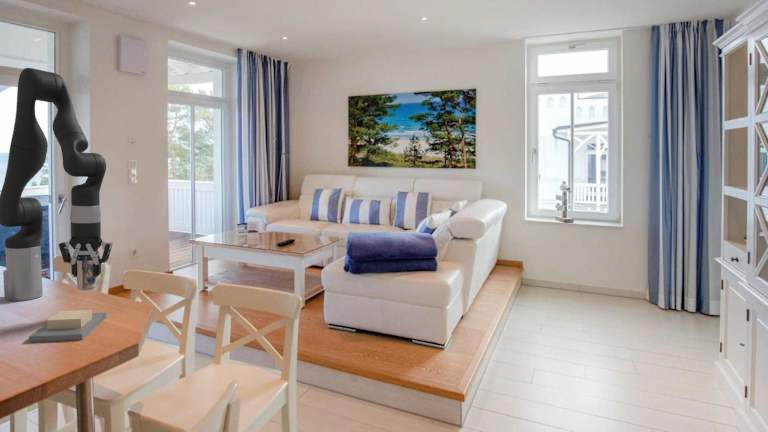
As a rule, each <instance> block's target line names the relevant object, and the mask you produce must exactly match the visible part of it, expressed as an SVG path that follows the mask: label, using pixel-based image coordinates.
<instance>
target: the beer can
mask: <svg viewBox="0 0 768 432" xmlns="http://www.w3.org/2000/svg"><path fill="white" fill-rule="evenodd" d="M95 254H96V252H95ZM94 265H95V264H94V261H93V259H92V258H91V256H90V253H89V251H79V253H78V256H77V277H76V281H77V283H76V287H77V289H78V290H80V291H90V290H93V289H95V288H96V287H97V277H94Z"/></svg>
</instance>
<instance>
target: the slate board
mask: <svg viewBox="0 0 768 432" xmlns="http://www.w3.org/2000/svg"><path fill="white" fill-rule="evenodd" d="M105 319H107V312H93V309H77V310H76V309H75V310H74V309H73V310H59V311H58V312H56V313H55V314H54V315H52V316H50V317H49V318H48V319H46V324H44V325H43V326H41V327H40V328H39V329H37V330H35V332H33V333H32V334H30V335H29V336H28V342H29V343H37V342H38V343H40V342H41V343H42V342H43V343H44V342H60V341H61V342H62V341H78V340H79V341H83V340H84V339H85V338H86V337H87V336H88V335H89V334H90V333H91V332H93V331H94V330H95V329H96V328H97V327H98V326H99V325H100V324H101V323H102V322H103V321H104V320H105Z"/></svg>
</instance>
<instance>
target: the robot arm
mask: <svg viewBox="0 0 768 432" xmlns="http://www.w3.org/2000/svg"><path fill="white" fill-rule="evenodd" d="M17 81H18V82H17V90H16V91H17V93H16V108H15V109H16V111H15V117H14V118H15V119H14V124H13V125H14V126H13V131H12V136H11V141H10V145H9V153H8V159H7V168H6V173H5V177H4V182H3V185H2V188H1V191H0V226H2V227H3V228H4V227H5V228H16V227H20V229H19V230H18V231H17V232H15V234H13V235H10V236H8V237H7V238H5V241H4V248H5V265H6V266H5V270H3V271H2V274H3V275H2V276H3V291H4V292H3V295H4V300H5V299H7V300H6V301H13V302H14V301H15V302H16V301H17V302H18V301H29V300H34V299H37V298H40V297H42V296H43V290H44V289H43V274H42V273H43V272H42V271H43V269H42V250H41V249H42V248H41V241H42V239H43V219H44V215H43V213H44V212H43V207H42V204H41V203H40V200H38V199H37V198H35V197H22V194H23V192H24V191H25V190H24V189H25V187H26V186H27V184H28V183H29V182H30V181H31V180H32V179H33V178H34V177H36V175H37V174H38V173H39V171H41V169H42V168H43V167H44V164H45V162H46V158H47V153H48V149H49V148H48V147H49V144H48V140H47V137H46V135H45V133H44V131H43V129H42V127H41V125H40V123H39V122H38V119H37V117H36V102H37V101H38V102H39V101H40V102H47V103H52V104H53V105H54V106H55V107H56V110H57V111H56V115H54V120H53V121H52V130H53V135H54V137H55V138H56V140H57V142H58V144H59V147H60V149H61V156H62V166H63V167H62V168H63V170H64V171H65V172H66V174H68V175H69V176H71V177H74V178H75V177H77V178H84V177H85V178H86V180H85V182H84V183H81V184H77V185H74V186H72V187H71V190H70V191H71V193H70V194H71V195H70V204H71V206H70V216H69V220H70V240H68V241H62V242H60V243H59V244H58V247H59V251H60V255H61V256H62V260H63V262H64V263H67V264H70V266H71V275H72V276H73V277H74V278H77V256H78V253H79V251H89V253H90V256H91V258H92V259H93V261H94V264H95V265H94V277H96V278H97V277H99V276H100V275H101V273H102V264H104V263H106V262H108V261H109V258H110V255H111V251H112V247H113V242H105V241H103V239H102V237H101V236H102V233H101V232H102V230H101V228H102V226H101V225H102V223H101V221H102V220H101V215H102V214H101V206H100V205H101V204H100V193H101V192H100V190H101V187H102V185H103V180H104V177H105V174H106V171H107V161H106V159H105V158H104V157H103V155H102V154H100V153H96V152H85V151H87V150H88V148H89V142H88V139H87V136H85V134H84V131H83V129H82V128H81V126H80V124H79V122H78V120H77V116H76V112H75V110H74V105H73V102H72V98H71V95H70V93H69V89H68V85H67V83H66V82H65V79H64V78H63V77H62V76H61V75H59V74H58V73H54V72H51V71H46V70H41V69H38V68H33V67H32V68H31V67H26V68H23V70H21V72H20V74H19V76H18V80H17ZM101 246H102V250H103V252H102V256H101V254H100V251H99V248H101ZM70 248H72V249H73V254H72V256H71V252H70ZM95 252H96V254H95Z"/></svg>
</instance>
